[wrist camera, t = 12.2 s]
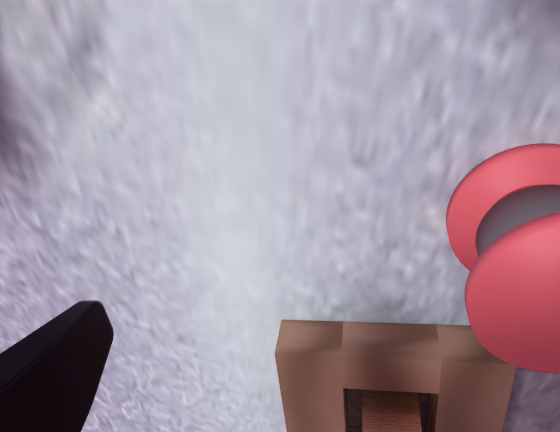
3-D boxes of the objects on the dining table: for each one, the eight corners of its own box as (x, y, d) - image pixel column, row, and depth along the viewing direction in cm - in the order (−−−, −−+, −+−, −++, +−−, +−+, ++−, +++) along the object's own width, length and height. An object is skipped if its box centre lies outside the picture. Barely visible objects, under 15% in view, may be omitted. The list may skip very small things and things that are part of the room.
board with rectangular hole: (505, 326, 26) (517, 364, 24) (479, 459, 32) (487, 497, 30) (281, 319, 28) (274, 353, 26) (298, 445, 34) (294, 480, 32)
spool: (634, 140, 20) (726, 221, 15) (593, 276, 23) (655, 378, 18) (452, 146, 21) (479, 223, 16) (440, 274, 25) (459, 369, 20)
